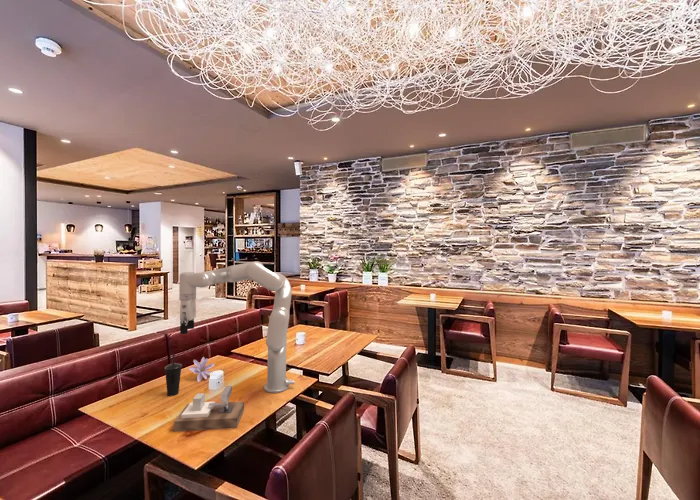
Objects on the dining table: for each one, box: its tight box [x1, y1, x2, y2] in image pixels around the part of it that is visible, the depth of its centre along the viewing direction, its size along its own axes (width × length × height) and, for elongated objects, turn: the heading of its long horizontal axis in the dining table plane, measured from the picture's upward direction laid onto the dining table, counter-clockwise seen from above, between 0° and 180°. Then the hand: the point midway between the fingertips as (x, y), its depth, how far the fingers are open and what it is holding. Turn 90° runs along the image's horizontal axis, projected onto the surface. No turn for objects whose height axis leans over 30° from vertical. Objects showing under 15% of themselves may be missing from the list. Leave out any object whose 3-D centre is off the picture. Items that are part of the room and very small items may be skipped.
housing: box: [173, 401, 245, 433], centre depth 132 cm, size 24×14×4 cm, turn 97°
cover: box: [181, 392, 216, 418], centre depth 131 cm, size 10×10×6 cm
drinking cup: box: [164, 353, 183, 397], centre depth 155 cm, size 8×8×20 cm
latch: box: [208, 385, 233, 410], centre depth 132 cm, size 8×8×8 cm
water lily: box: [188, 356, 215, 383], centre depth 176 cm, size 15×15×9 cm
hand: (187, 331), depth 157 cm, fingers open, 9 cm apart
